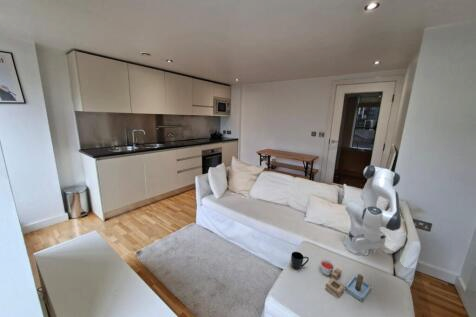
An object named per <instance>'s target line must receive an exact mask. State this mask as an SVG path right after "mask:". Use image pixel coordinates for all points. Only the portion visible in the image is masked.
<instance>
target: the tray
mask: <svg viewBox="0 0 476 317" xmlns="http://www.w3.org/2000/svg"><path fill="white" fill-rule="evenodd" d="M357 277H358V276H356V274H355V275H353V277H351V279H350V280H349V281H348V283H347V284H346V285H344V286H345V288H344V292H345V293H348V294H350V295H351V296H353V298H355V299H356V300H358V301H359V302H361V303H363V301H364V300H365V298H366V297H367V296H368V294H369V292H370V291H371V287H372V285H371V284H369V283H367V282H366V281H364V280H363V282H362V286H361V290H360V291H357V290H356V289H355V286H356V281H357Z"/></svg>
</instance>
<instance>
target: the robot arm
mask: <svg viewBox="0 0 476 317" xmlns="http://www.w3.org/2000/svg"><path fill="white" fill-rule="evenodd" d="M362 172H363V176H364V178H365V179H368V180H367V181H366V183H365V184H364V187H363V189H362V191H361V192H360V193H361V194H360V199H361V200H362V201H363V205H362V204H361V203H359V202H357V201H351V200H350V201H348V202H347V203H346V204H345V211H346V212H347V214H348V216H349V219H350V229H349V232H348V235H346V236H345V240H344V241H343V242H342V244H343V246H344V247H345V249H346V250H347V251H348V252H350V253H352V254H353V255H357V256H368V255H369V253H370V254H375V252H376V251H377V250H378V249H381V248H383V247H384V246H385V243H386V239H387V235H386V233H384V232H382V231H381V230H380V229H381V227H382V228H385V229H387V230H390V231H391V232H393V231H398V230H400V229H401V227H402V217H401V211H400V210H401V209H400V199H399V193H398V191H396V190H395V188H394V187H396V186H397V185H398V184H399V183H400V180H401V175H400V174H399V173H397V172H396V171H392V170H391V169H389V168H383V167H379V166H375V165H372V164H371V165H370V164H369V165H366V166H365V168H364V169H363V171H362ZM379 197H381V198H383V199H385V200H386V201H388V202H389V204H390V211H388V210H384V209H381V208H380V207H377V204H378V201H379V200H378V199H379Z"/></svg>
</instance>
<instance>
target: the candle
mask: <svg viewBox="0 0 476 317" xmlns="http://www.w3.org/2000/svg"><path fill="white" fill-rule="evenodd" d="M334 270H335V264H334V263H333V262H332V261H330V260H329V259H321V261H320V272H321V273H322V274H323V275H325V276H331V274H332V272H333V271H334Z"/></svg>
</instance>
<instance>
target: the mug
mask: <svg viewBox="0 0 476 317" xmlns="http://www.w3.org/2000/svg"><path fill="white" fill-rule="evenodd" d="M290 256H291V257H290V261H291V262H290V263H291V265H292V266H291V267H292V268H293V269H294V270H296V271H297V270H300V269H301V268H302V267H304V266H305V265H306V264H307V263H308V262H309V257H308V256H304V255H303V254H302V253H301V252H300V251H292V253H291V255H290ZM304 259H306V261H305V262H304Z"/></svg>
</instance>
